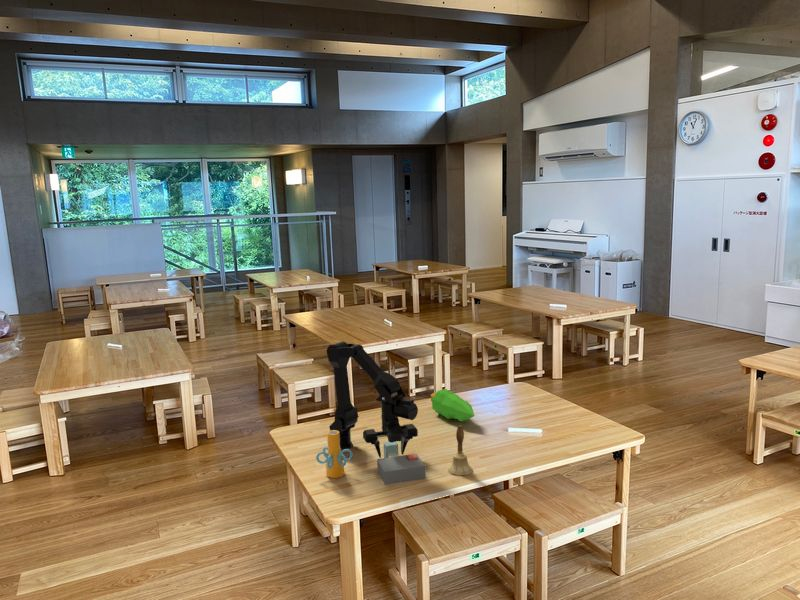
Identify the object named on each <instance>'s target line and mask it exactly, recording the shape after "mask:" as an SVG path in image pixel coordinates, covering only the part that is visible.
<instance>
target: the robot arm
mask: <svg viewBox="0 0 800 600" xmlns="http://www.w3.org/2000/svg"><path fill="white" fill-rule="evenodd" d="M326 354H327V359H328V362H329V365H331V366H332V368H333V374H334V375H333V376H334V384H335V385H334V386H335V391H336V399H337V400H336V402H337V407H336V409H335V410H334V411H335V412H334V420H333V422H332V423H330V425H329V431H331V430H337V431H339V438H340V447H341V449H349V448H353V447H354V444H353V441H352V440H351V439H352V437H351V429H353V428H355V426H356V424H357V422H358V418H359V417H360V416H359V414H358V410H359V409H358V407H357V406H354V405H353V404H352V401H351V399H352V398H351V391H350V383H349V373H348V363H349V361H350V358H352V359H353V360H354V361H355V362H356V364H357V365H358V366H360V368H361V369H362V371H364V373H366V375H368V378H370V379H371V380H372V383H373V385H374V386H373V387H374V389H375V390H376V391H377V393H378V395H379V396H378V397H376V398H375V401H376V402H380V403H381V404H380V406H381V407H380V408H381V416H380V418H381V431H376V430H375V429H374V428H370V429H369V428H368V429H364V430H363V432H362V438H363V439H364V441H365V444H371V445H374V448H375V450H376V453H377V455H378V457H379V458H378V459H382V453H381V446H380V444H381V442H380V440H379V438H385V437H387V440H388V441H387V442H391V443H392V442H400V453H401V456H403V455H404V453H405V451H406V447H407V445H408V443H409V441H410V440H412V439H414V437H418V436H419V435H418V433H419V431H418V428H417V426H415V424H413V423H407V424H406V423H405V424H403V425H400V421H399V418H401V419H405V420H410V421H413V420H415V419H416V418H417V416H418V413H419V407H418V406H417V403H415V400H414V399H408V398H406V397H407V395H406V393H405V391H404V390H403V388H402V387H401V383H400V382H399V380H398V379H397V378H396V377H394V376H393V375H392V374H391V373H388V372H385V371H384V370H383V369H382V368H381V367H380V366H379V365H378V363H376V362H375V360H374V359H373V358H372V357H371V356H370V355H369V353H368V352H366V349H365V348H364V347H363V345H362V344H360V343H359V344H358V343H357V344H356V343H348V342H345V341H343V340H342V341H338V342H336V343H332V344H330V345H328V346H327V348H326Z"/></svg>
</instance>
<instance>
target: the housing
mask: <svg viewBox="0 0 800 600" xmlns="http://www.w3.org/2000/svg"><path fill="white" fill-rule="evenodd" d="M411 454H412V453H411ZM411 454H405V455H404V454H403V455H399V456H396V457H389V458H384V457H381V458H377V459H376V467H377V469H376V470H377V474H378V476H379V478H380V479H381V481H382V484H383V485H384V486H387V485H395V484H401V483H407V482H414V481H420V480H421V481H422V480H426V479H427V477H426V476H427V475H426V474H427V473H426V469H427V468H426V464H425V463H424V462H423V461H422V459H421V457H420V456H419V455H418V453H414V454H415V455H416V456H417V460H411V461H409V460H408V459H407V455H411Z"/></svg>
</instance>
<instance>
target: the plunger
mask: <svg viewBox="0 0 800 600" xmlns="http://www.w3.org/2000/svg"><path fill="white" fill-rule="evenodd" d="M415 454H416V453H411V455H409V454H406V455H407V459H408V460H409V461H411V460H417V456H416V455H415Z"/></svg>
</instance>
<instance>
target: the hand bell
mask: <svg viewBox="0 0 800 600" xmlns="http://www.w3.org/2000/svg"><path fill="white" fill-rule="evenodd" d="M455 436H456V442H457V453H454V455H453V458H452V463H451V465H450V466H449V467H448V469H447V470H448V473H449V474H451V475H453V476H457V475H458V476H459V477H461V475H464V476H467V475H471V472H472V473H473V471H474V470H473V468H472V466H471V465H470V464H469V461H468V457H467V454H465V453H464V452H463V450H464V449H463V442H464V439H465V431H464V429H463V426H462V424H459V425H457V429H456V433H455Z"/></svg>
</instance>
